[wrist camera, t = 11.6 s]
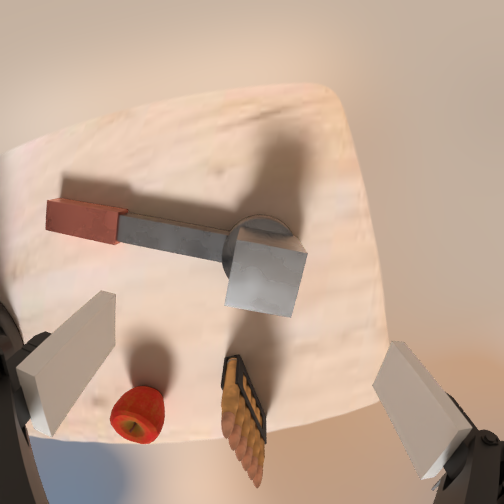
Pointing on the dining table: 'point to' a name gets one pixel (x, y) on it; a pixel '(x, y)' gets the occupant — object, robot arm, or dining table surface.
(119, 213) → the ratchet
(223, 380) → the ammunition clip
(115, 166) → the dining table surface
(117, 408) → the apple
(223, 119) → the dining table surface
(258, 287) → the brushed steel cube
